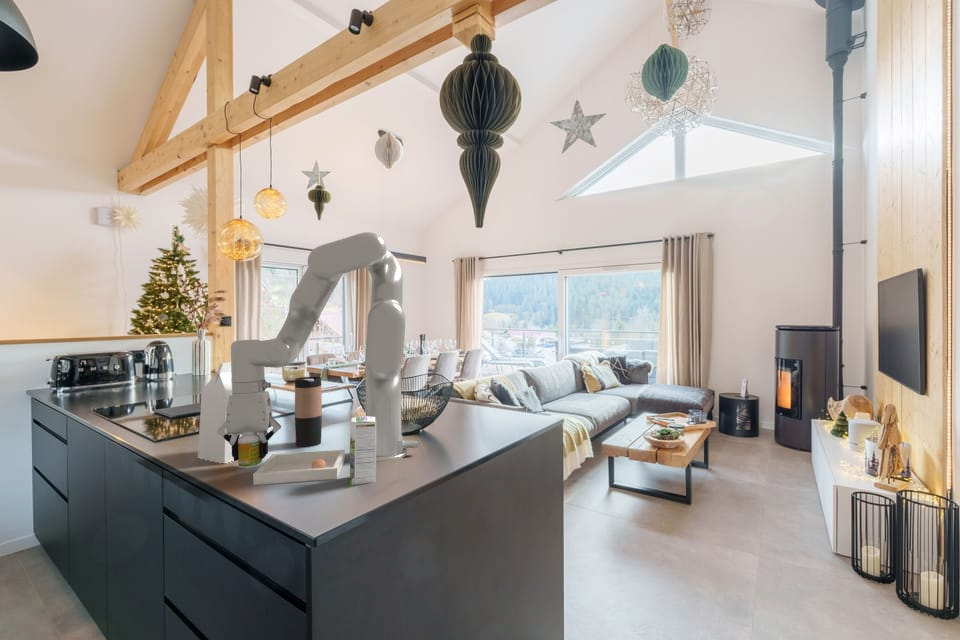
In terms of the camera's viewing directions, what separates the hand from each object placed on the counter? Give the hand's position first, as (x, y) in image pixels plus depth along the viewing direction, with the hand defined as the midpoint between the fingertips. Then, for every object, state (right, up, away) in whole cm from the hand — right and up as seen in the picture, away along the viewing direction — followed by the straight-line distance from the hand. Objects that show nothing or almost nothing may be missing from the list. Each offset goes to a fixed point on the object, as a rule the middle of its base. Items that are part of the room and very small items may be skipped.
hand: (250, 457), depth 111 cm
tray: (+16, -2, -5) cm, 17 cm away
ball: (+20, -1, -6) cm, 21 cm away
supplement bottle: (0, -2, 0) cm, 2 cm away
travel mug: (+7, -3, +21) cm, 22 cm away
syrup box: (+32, -2, -11) cm, 34 cm away
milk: (-10, -3, +10) cm, 15 cm away
